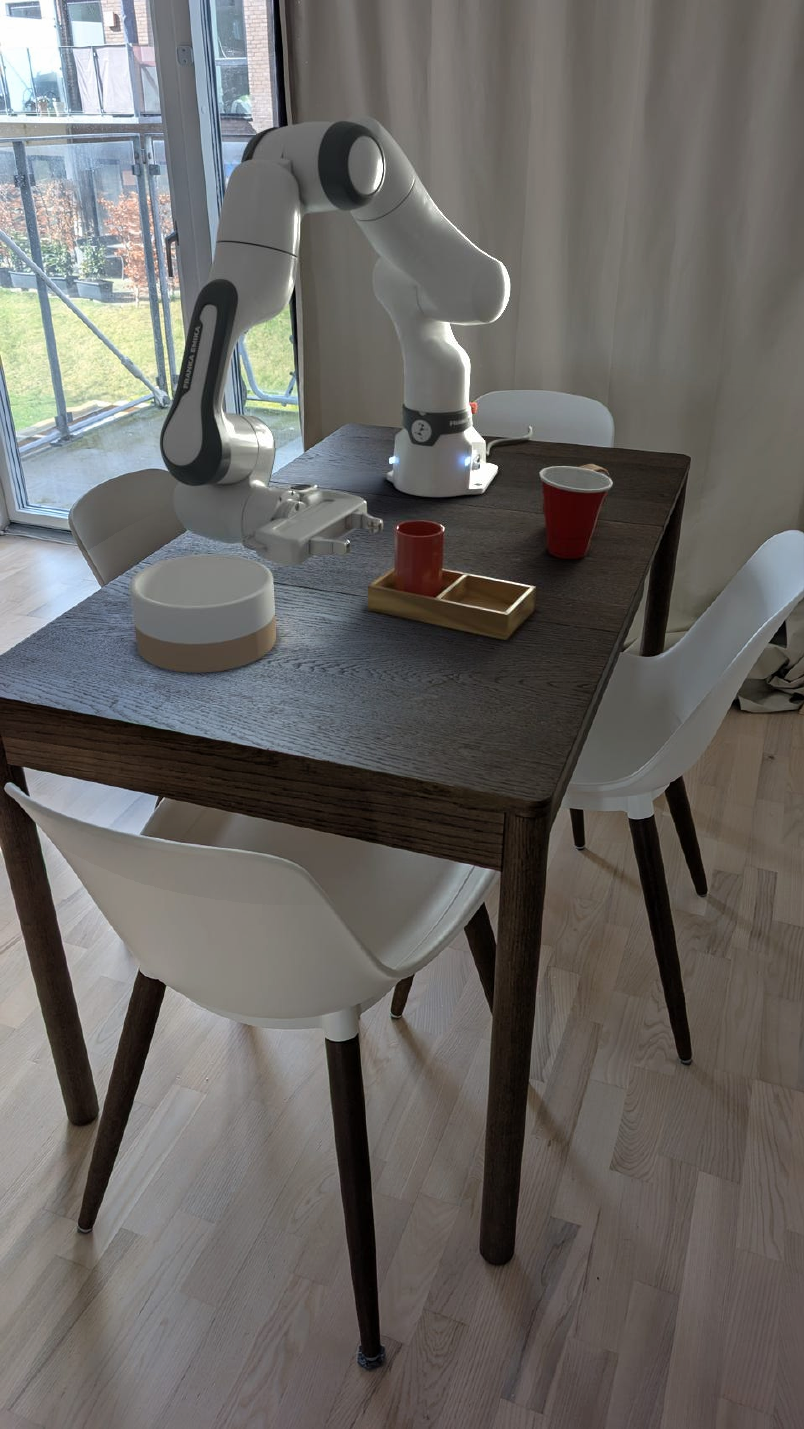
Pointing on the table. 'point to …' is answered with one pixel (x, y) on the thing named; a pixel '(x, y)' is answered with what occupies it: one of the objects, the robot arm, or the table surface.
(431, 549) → the cup
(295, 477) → the table surface
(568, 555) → the plastic cup
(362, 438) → the table surface
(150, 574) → the bowl
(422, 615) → the caddy
